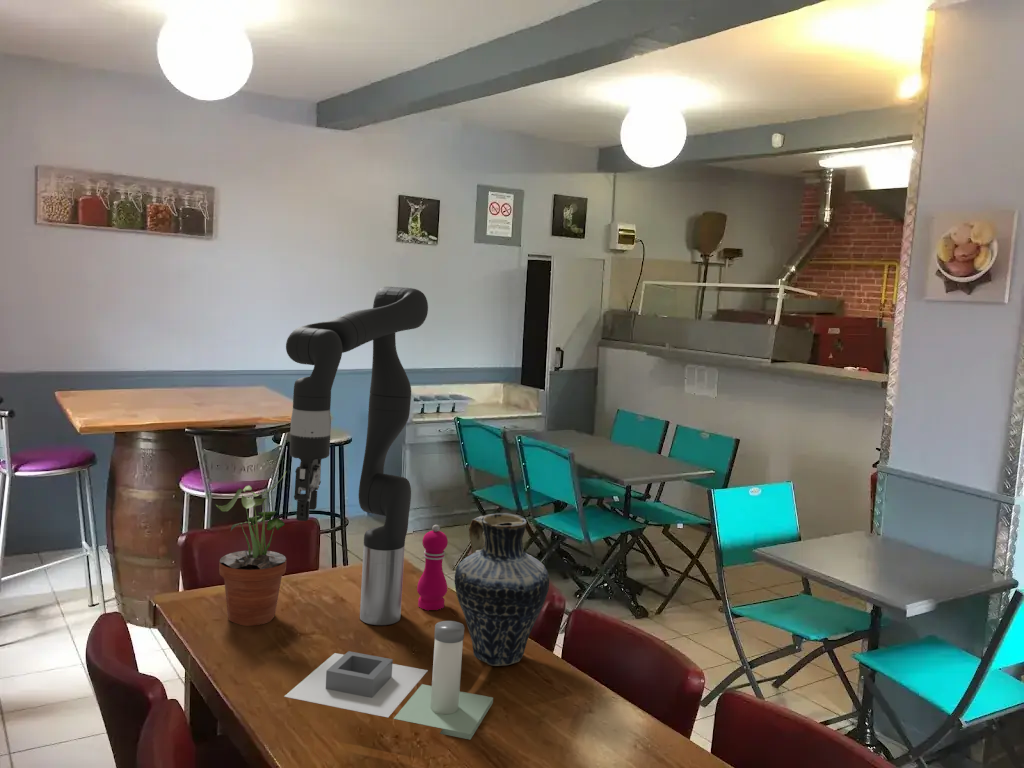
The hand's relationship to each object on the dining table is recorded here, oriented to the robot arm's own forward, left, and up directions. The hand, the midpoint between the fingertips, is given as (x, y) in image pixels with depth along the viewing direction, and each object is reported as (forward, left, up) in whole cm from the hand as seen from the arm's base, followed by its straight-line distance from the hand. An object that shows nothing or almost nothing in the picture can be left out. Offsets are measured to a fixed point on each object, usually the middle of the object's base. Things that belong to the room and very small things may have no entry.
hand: (306, 514), depth 163 cm
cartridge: (+8, +33, -29) cm, 45 cm away
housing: (+5, +15, -30) cm, 34 cm away
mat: (+8, +33, -30) cm, 45 cm away
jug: (-18, +35, -30) cm, 50 cm away
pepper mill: (-40, +13, -30) cm, 52 cm away
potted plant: (-17, -22, -30) cm, 41 cm away
